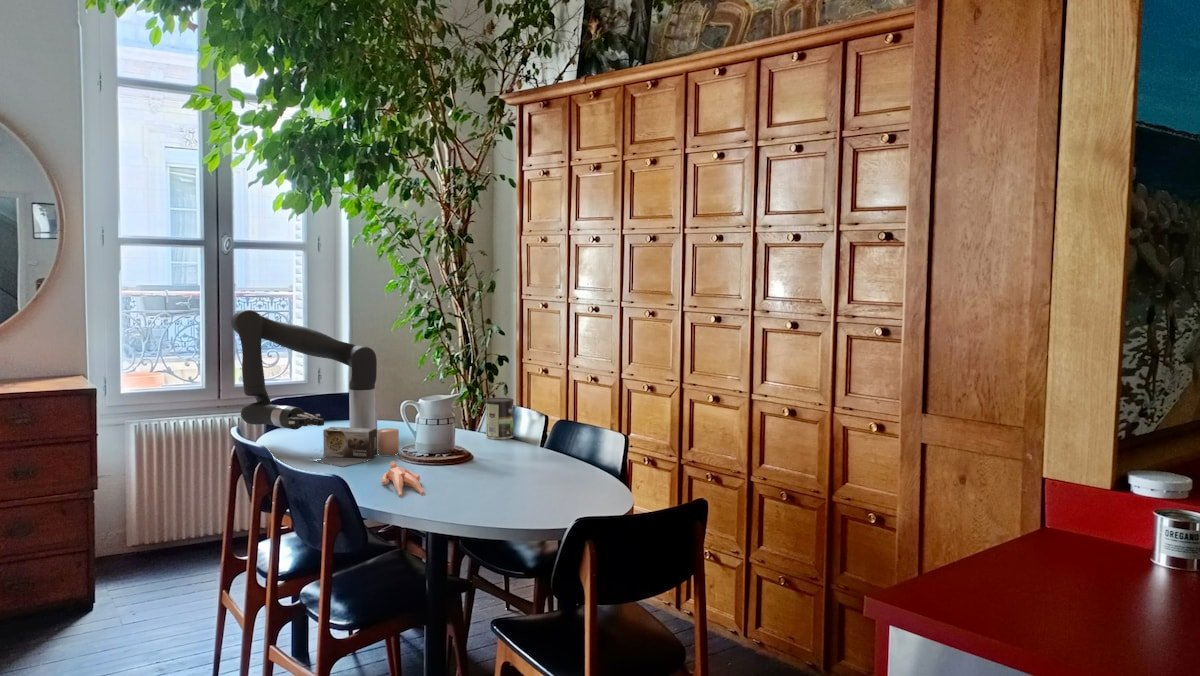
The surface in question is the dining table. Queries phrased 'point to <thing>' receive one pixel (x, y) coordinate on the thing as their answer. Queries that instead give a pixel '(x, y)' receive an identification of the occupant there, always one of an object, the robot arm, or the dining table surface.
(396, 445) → the peach rounded block
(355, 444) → the coffee box
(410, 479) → the male figurine
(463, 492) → the dining table surface
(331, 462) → the mat
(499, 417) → the coffee can
